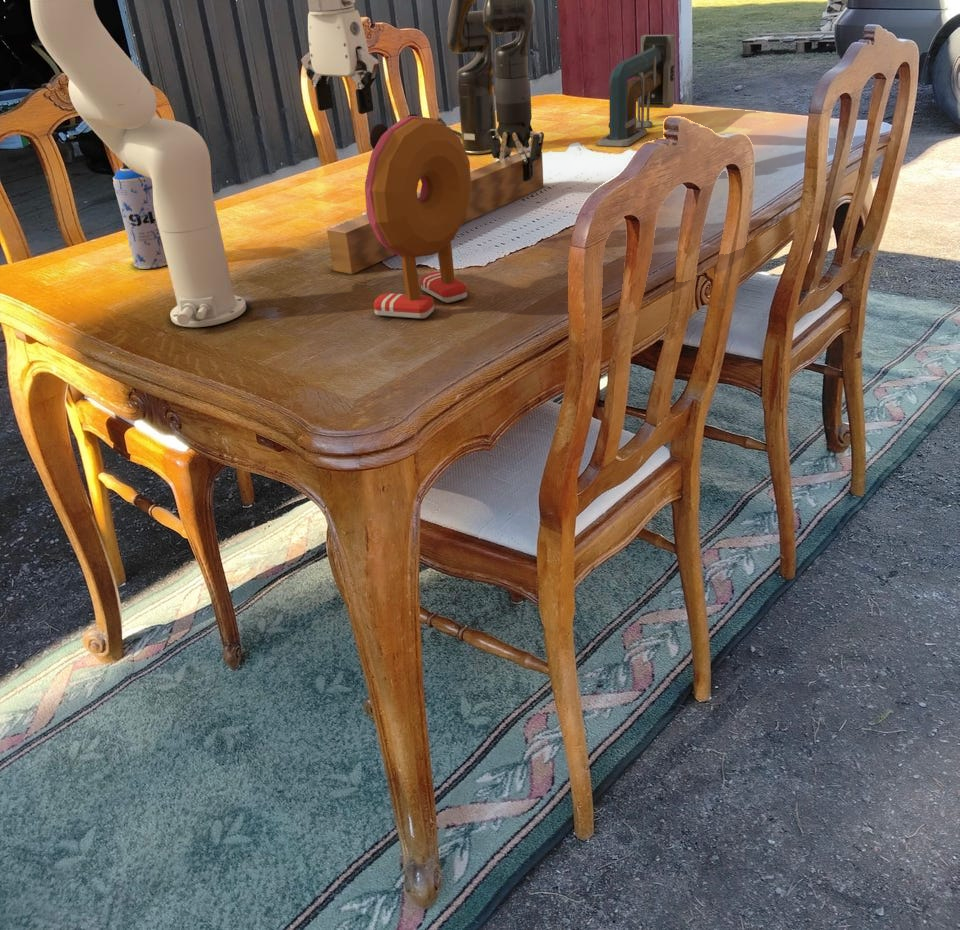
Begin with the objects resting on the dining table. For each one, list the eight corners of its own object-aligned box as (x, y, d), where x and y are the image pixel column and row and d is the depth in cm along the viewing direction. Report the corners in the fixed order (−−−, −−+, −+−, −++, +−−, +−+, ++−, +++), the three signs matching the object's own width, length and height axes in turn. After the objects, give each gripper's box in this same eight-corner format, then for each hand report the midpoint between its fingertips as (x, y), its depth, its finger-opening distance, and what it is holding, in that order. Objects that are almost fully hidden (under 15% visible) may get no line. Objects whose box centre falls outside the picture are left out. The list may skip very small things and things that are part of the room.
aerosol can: (133, 271, 187) (105, 166, 177) (134, 259, 194) (107, 157, 184) (174, 264, 189) (149, 160, 179) (174, 253, 195) (150, 152, 185)
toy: (445, 278, 171) (428, 100, 155) (490, 288, 165) (476, 104, 149) (359, 319, 157) (331, 128, 142) (404, 331, 151) (380, 133, 136)
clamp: (627, 146, 245) (627, 56, 234) (595, 145, 249) (593, 56, 238) (672, 117, 270) (675, 34, 260) (643, 116, 274) (644, 34, 263)
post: (352, 274, 177) (345, 232, 173) (333, 270, 179) (326, 229, 175) (543, 186, 218) (542, 151, 214) (526, 184, 221) (524, 150, 217)
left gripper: (384, -1, 158) (397, 109, 166) (310, 0, 167) (325, 104, 176) (353, 5, 153) (367, 118, 161) (278, 5, 162) (295, 112, 171)
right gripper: (551, 96, 204) (553, 178, 212) (496, 93, 212) (501, 172, 220) (530, 103, 199) (534, 186, 207) (475, 100, 207) (481, 180, 215)
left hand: (345, 110), depth 168 cm, fingers open, 9 cm apart
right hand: (517, 178), depth 214 cm, fingers closed on post, 5 cm apart
